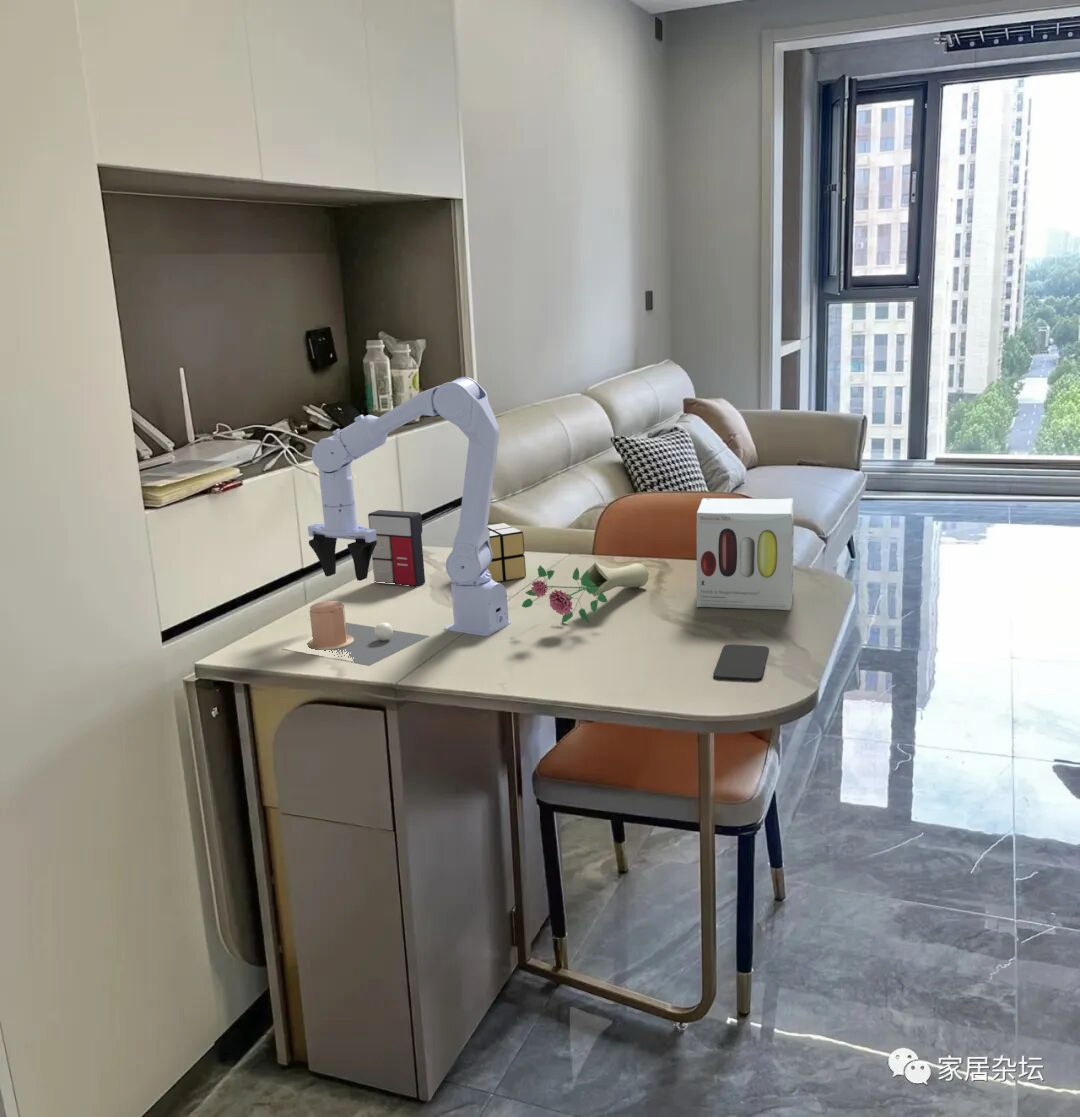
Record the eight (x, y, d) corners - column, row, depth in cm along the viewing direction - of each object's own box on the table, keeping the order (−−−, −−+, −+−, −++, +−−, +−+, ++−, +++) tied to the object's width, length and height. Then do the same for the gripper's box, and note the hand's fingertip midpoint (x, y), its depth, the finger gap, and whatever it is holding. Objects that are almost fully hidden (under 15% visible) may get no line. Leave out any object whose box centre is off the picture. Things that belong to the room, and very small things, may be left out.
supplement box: (695, 609, 196) (693, 512, 192) (702, 588, 209) (701, 497, 204) (792, 611, 192) (793, 512, 188) (793, 589, 205) (794, 496, 200)
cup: (353, 639, 188) (349, 604, 186) (328, 648, 184) (324, 612, 182) (332, 634, 191) (328, 599, 190) (307, 643, 187) (303, 607, 186)
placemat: (429, 638, 188) (429, 635, 188) (369, 667, 175) (369, 665, 175) (344, 624, 199) (343, 622, 199) (281, 651, 186) (281, 649, 186)
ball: (397, 638, 188) (395, 621, 187) (385, 644, 185) (384, 626, 184) (383, 636, 190) (381, 619, 189) (371, 641, 187) (369, 624, 186)
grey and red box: (372, 583, 225) (365, 514, 221) (384, 578, 229) (377, 509, 225) (415, 588, 220) (409, 516, 216) (427, 582, 224) (421, 512, 220)
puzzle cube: (464, 575, 228) (461, 529, 226) (507, 567, 232) (504, 522, 230) (482, 585, 219) (478, 538, 217) (526, 578, 223) (523, 531, 221)
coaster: (363, 639, 189) (363, 637, 189) (332, 653, 182) (331, 651, 182) (329, 633, 193) (329, 631, 193) (297, 647, 186) (297, 645, 186)
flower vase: (649, 627, 211) (566, 644, 180) (597, 603, 216) (507, 615, 186) (669, 572, 208) (589, 580, 178) (616, 548, 214) (529, 552, 183)
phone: (770, 646, 174) (761, 678, 160) (770, 651, 174) (761, 684, 160) (723, 643, 176) (711, 676, 162) (723, 648, 176) (712, 681, 162)
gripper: (384, 501, 191) (391, 575, 195) (323, 497, 199) (331, 567, 202) (358, 510, 185) (365, 585, 189) (296, 504, 193) (304, 577, 196)
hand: (346, 577), depth 195 cm, fingers open, 7 cm apart
